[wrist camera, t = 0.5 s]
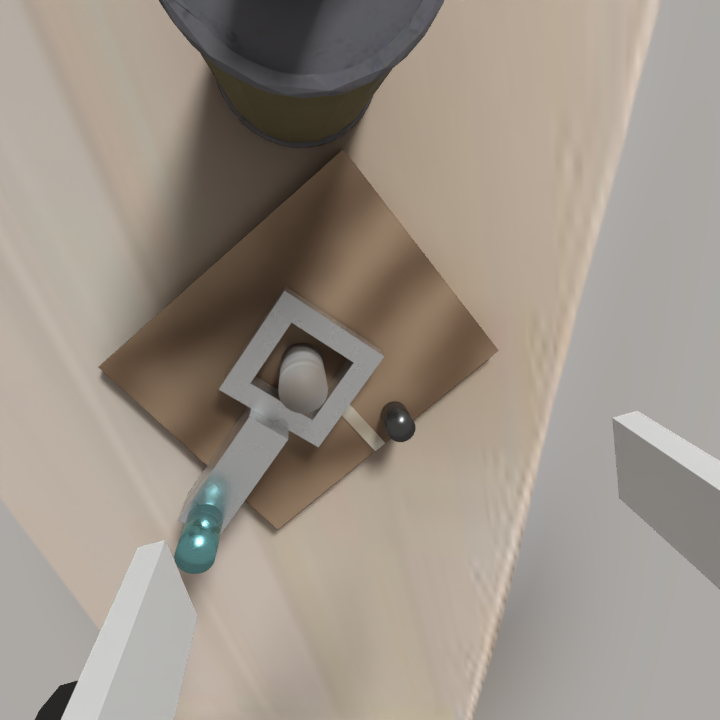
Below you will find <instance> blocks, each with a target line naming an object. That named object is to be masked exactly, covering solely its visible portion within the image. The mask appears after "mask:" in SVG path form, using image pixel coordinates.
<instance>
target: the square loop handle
mask: <svg viewBox="0 0 720 720" xmlns="http://www.w3.org/2000/svg"><path fill="white" fill-rule="evenodd" d="M291 323H293V324H295V325H296V326H298V327H299V328H301V329H302V330H304V331H305V332H307V333H309V334H310V335H312V336H313V337H315V338H316V339H318V340H319V341H321V342H323V343H324V344H326V345H327V346H329V347H330V348H332V349H333V350H335V351H337V352H338V353H340V354H341V355H343V356H344V357H346V358H347V360H346V362H345V363H344V365H343V366H342V368H341V369H340V370H339V372H338V373H337V375H336V376H335V377H334V379H333V380H332V382H331V383H330V384H329V386H328V394H327V398H326V400H325V402H324V403H323V405H322V406H321V407H320V408H318V409H317V410H315V411H313V412H310V413H305V414H301V413H295V412H293V411H291V410H289V409H287V408H286V407H285V406H284V405H283V403H282V402H281V400H280V397H279V393H278V389H277V388H275V387H273V386H272V385H270V384H268V383H267V382H265V381H263V380H262V379H260V378H258V377H257V376H256V374H257V373H258V371H259V370H260V368H261V367H262V365H263V364H264V362H265V361H266V359H267V358H268V356H269V355H270V354H271V352H272V351H273V349H274V348H275V346H276V345H277V343H278V342H279V340H280V339H281V337H282V336H283V334H284V333H285V331H286V330H287V328H288V327H289V326H290V324H291ZM383 358H384V355H383V353H382V352H381V350H380V349H379V348H378V347H376V346H375V345H373V344H372V343H370V342H369V341H367V340H366V339H364V338H363V337H361V336H360V335H358V334H357V333H355V332H354V331H352V330H351V329H349V328H348V327H346V326H345V325H343V324H342V323H340V322H339V321H337V320H336V319H334V318H333V317H331V316H330V315H328V314H327V313H325V312H324V311H322V310H321V309H319V308H318V307H316V306H315V305H313V304H312V303H310V302H309V301H307V300H306V299H304V298H303V297H301V296H300V295H298V294H297V293H295V292H294V291H292V290H290V289H289V288H287V287H286V286H285V287H284V289H283V290H282V292H281V293H280V295H279V296H278V298H277V299H276V301H275V302H274V304H273V305H272V307H271V308H270V310H269V311H268V313H267V314H266V316H265V317H264V319H263V320H262V322H261V323H260V325H259V326H258V328H257V329H256V331H255V332H254V334H253V335H252V337H251V338H250V340H249V341H248V343H247V344H246V346H245V347H244V349H243V350H242V352H241V353H240V355H239V356H238V358H237V359H236V361H235V362H234V364H233V365H232V367H231V368H230V370H229V371H228V373H227V374H226V376H225V377H224V379H223V380H222V383H221V385H220V388H219V390H220V391H222V392H224V393H225V394H227V395H229V396H231V397H232V398H234V399H236V400H237V401H239V402H241V403H243V404H244V405H246V406H247V408H246V409H245V411H244V412H243V414H242V415H241V417H240V418H239V420H238V421H237V423H236V424H235V425H234V427H233V428H232V430H231V431H230V433H229V434H228V436H227V437H226V439H225V440H224V442H223V443H222V444H221V446H220V447H219V449H218V450H217V452H216V453H215V455H214V456H213V458H212V459H211V461H210V462H209V464H208V465H207V466H206V468H205V469H204V471H203V472H202V474H201V475H200V477H199V478H198V480H197V481H196V483H195V484H194V485H193V487H192V488H191V490H190V491H189V493H188V495H187V498H186V501H185V503H184V506H183V509H182V511H181V514H180V517H179V520H178V521H180V522H182V523H184V524H185V525H184V528H183V531H182V534H181V537H180V540H179V543H178V546H177V549H176V552H175V557H174V558H175V562H176V564H177V566H178V567H179V568H180V569H181V570H183V571H185V572H187V573H192V574H198V573H202V572H205V571H207V570H208V569H209V568H210V567H211V566H212V565H213V563H214V560H215V556H216V552H217V547H218V543H219V538H220V535H221V533H222V532H223V531H224V529H225V528H226V526H227V525H228V524H229V522H230V521H231V519H232V518H233V517H234V515H235V514H236V512H237V511H238V510H239V508H240V507H241V505H242V504H243V502H244V501H245V500H246V498H247V497H248V495H249V494H250V493H251V491H252V490H253V488H254V487H255V486H256V484H257V483H258V481H259V480H260V479H261V477H262V476H263V474H264V473H265V471H266V470H267V469H268V467H269V466H270V464H271V463H272V462H273V460H274V459H275V457H276V456H277V455H278V453H279V452H280V450H281V449H282V448H283V446H284V445H285V443H286V442H287V441H288V431H291V432H293V433H294V434H296V435H298V436H300V437H301V438H303V439H305V440H307V441H308V442H310V443H312V444H313V445H315V446H317V447H319V446H320V445H321V443H322V442H323V440H324V439H325V438H326V436H327V435H328V434H329V432H330V431H331V429H332V428H333V427H334V425H335V424H336V423H337V421H338V420H339V418H340V417H341V416H342V414H343V413H344V411H345V410H346V409H347V407H348V406H349V405H350V403H351V402H352V400H353V399H354V398H355V396H356V395H357V394H358V392H359V391H360V389H361V388H362V387H363V385H364V384H365V383H366V381H367V380H368V378H369V377H370V376H371V374H372V373H373V372H374V370H375V369H376V367H377V366H378V365H379V363H380V362H381V360H382V359H383Z"/></svg>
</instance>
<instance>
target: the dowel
mask: <svg viewBox="0 0 720 720" xmlns="http://www.w3.org/2000/svg"><path fill="white" fill-rule="evenodd" d="M381 418H382V420H383V423H384V425H385V428H386V430H387V433H388V435H389V437H390V438H391V439H392V440H394V441H397V442H404V441H407V440H409V439H410V438H411V437H412V436H413V434H414V432H415V424H414V422H413V420H412V418H411V416H410V414H409V412H408V411H407V409H406V407H405V406H404V404H402V403H401V402H397V401H392V402H389V403H387V404H386V405H385V406H384V407H383V409H382V411H381Z"/></svg>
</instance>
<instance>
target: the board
mask: <svg viewBox="0 0 720 720" xmlns="http://www.w3.org/2000/svg"><path fill="white" fill-rule="evenodd" d="M285 286H286V287H287V288H289V289H290V290H292V291H294V292H295V293H297V294H298V295H300V296H301V297H303V298H304V299H306V300H307V301H309V302H310V303H312V304H313V305H315V306H316V307H318V308H319V309H321V310H322V311H324V312H325V313H327V314H328V315H330V316H331V317H333V318H334V319H336V320H337V321H339V322H340V323H342V324H343V325H345V326H346V327H348V328H349V329H351V330H352V331H354V332H355V333H357V334H358V335H360V336H361V337H363V338H364V339H366V340H367V341H369V342H370V343H372V344H373V345H375V346H376V347H378V348H379V349H380V350H381V352H382V353H383V355H384V358H383V359H382V360H381V362H380V363H379V365H378V366H377V367H376V369H375V370H374V372H373V373H372V374H371V376H370V377H369V378H368V380H367V381H366V383H365V384H364V385H363V387H362V388H361V389H360V391H359V392H358V394H357V395H356V396H355V398H354V399H353V400H352V402H351V403H350V405H349V406H348V407H347V409H346V410H345V411H344V413H343V414H342V416H341V417H340V418H339V420H338V421H337V423H336V424H335V425H334V427H333V428H332V429H331V431H330V432H329V434H328V435H327V436H326V438H325V439H324V440H323V442H322V443H321V445H320V446H319V447H317V446H315V445H313V444H312V443H310V442H308V441H307V440H305V439H303V438H301V437H300V436H298V435H296V434H294V433H293V432H291V431H288V441H287V442H286V443H285V445H284V446H283V448H282V449H281V450H280V452H279V453H278V455H277V456H276V457H275V459H274V460H273V462H272V463H271V464H270V466H269V467H268V469H267V470H266V471H265V473H264V474H263V476H262V477H261V479H260V480H259V481H258V483H257V484H256V486H255V487H254V488H253V490H252V491H251V493H250V494H249V495H248V497H247V498H246V500H245V501H247V502H248V503H249V504H250V505H251V506H252V507H253V508H254V509H255V510H256V511H258V512H259V513H260V514H261V515H262V516H263V517H264V518H265V519H266V520H267V521H269V522H270V523H271V524H272V525H273V526H274V527H275V528H276V529H277V530H278V529H279V528H280V527H282V526H283V525H284V524H285V523H287V522H288V521H289V520H290V519H291V518H293V517H294V516H295V515H296V514H298V513H299V512H300V511H301V510H303V509H304V508H305V507H306V506H308V505H309V504H310V503H311V502H312V501H314V500H315V499H316V498H317V497H319V496H320V495H321V494H322V493H324V492H325V491H326V490H327V489H329V488H330V487H331V486H332V485H333V484H335V483H336V482H337V481H338V480H340V479H341V478H342V477H343V476H345V475H346V474H347V473H348V472H349V471H351V470H352V469H353V468H354V467H356V466H357V465H358V464H359V463H361V462H362V461H363V460H364V459H366V458H367V457H368V456H369V455H370V454H372V453H373V452H374V451H376V450H378V449H379V448H380V447H381V446H383V445H384V444H385V442H387V441H388V440H389V439H390V437H389V435H388V433H387V430H386V428H385V425H384V423H383V420H382V418H381V411H382V409H383V407H384V406H385V405H386V404H387V403H389V402H392V401H397V402H401V403H402V404H404V406H405V407H406V409H407V411H408V412H409V414H410V416H411V418H412V420H414V419H415V418H416V417H417V416H419V415H420V414H421V413H422V412H424V411H425V410H426V409H427V408H428V407H430V406H431V405H432V404H433V403H435V402H436V401H437V400H438V399H440V398H441V397H442V396H443V395H445V394H446V393H447V392H448V391H449V390H451V389H452V388H453V387H454V386H456V385H457V384H458V383H459V382H461V381H462V380H463V379H464V378H466V377H467V376H468V375H469V374H470V373H472V372H473V371H474V370H475V369H477V368H478V367H479V366H480V365H482V364H483V363H484V362H485V361H486V360H488V359H489V358H490V357H491V356H493V355H494V354H495V353H496V352H498V349H497V348H496V347H495V345H494V344H493V343H492V341H491V340H490V339H489V338H488V336H487V335H486V334H485V332H484V331H483V330H482V328H481V327H480V326H479V325H478V323H477V322H476V321H475V319H474V318H473V317H472V315H471V314H470V313H469V312H468V310H467V309H466V308H465V306H464V305H463V304H462V303H461V301H460V300H459V299H458V297H457V296H456V295H455V293H454V292H453V291H452V290H451V288H450V287H449V286H448V284H447V283H446V282H445V280H444V279H443V278H442V277H441V275H440V274H439V273H438V271H437V270H436V269H435V267H434V266H433V265H432V264H431V262H430V261H429V260H428V258H427V257H426V256H425V254H424V253H423V252H422V251H421V249H420V248H419V247H418V245H417V244H416V243H415V242H414V240H413V239H412V238H411V236H410V235H409V234H408V232H407V231H406V230H405V229H404V227H403V226H402V225H401V223H400V222H399V221H398V219H397V218H396V217H395V216H394V214H393V213H392V212H391V210H390V209H389V208H388V206H387V205H386V204H385V203H384V201H383V200H382V199H381V197H380V196H379V195H378V193H377V192H376V191H375V190H374V188H373V187H372V186H371V184H370V183H369V182H368V181H367V179H366V178H365V177H364V175H363V174H362V173H361V171H360V170H359V169H358V168H357V166H356V165H355V164H354V162H353V161H352V160H351V158H350V157H349V156H348V155H347V153H346V152H345V151H344V149H343V150H342V151H341V152H340V153H338V154H337V155H336V156H335V157H334V158H333V159H332V160H331V161H329V162H328V163H327V164H326V165H325V166H324V167H323V168H322V169H320V170H319V171H318V172H317V173H316V174H315V175H314V176H313V177H311V178H310V179H309V180H308V181H307V182H306V183H305V184H304V185H302V186H301V187H300V188H299V189H298V190H297V191H296V192H295V193H293V194H292V195H291V196H290V197H289V198H288V199H287V200H286V201H284V202H283V203H282V204H281V205H280V206H279V207H278V208H277V209H275V210H274V211H273V212H272V213H271V214H270V215H269V216H268V217H266V218H265V219H264V220H263V221H262V222H261V223H260V224H259V225H257V226H256V227H255V228H254V229H253V230H252V231H251V232H250V233H248V234H247V235H246V236H245V237H244V238H243V239H242V240H241V241H239V242H238V243H237V244H236V245H235V246H234V247H233V248H232V249H230V250H229V251H228V252H227V253H226V254H225V255H224V256H223V257H221V258H220V259H219V260H218V261H217V262H216V263H215V264H214V265H212V266H211V267H210V268H209V269H208V270H207V271H206V272H205V273H203V274H202V275H201V276H200V277H199V278H198V279H197V280H196V281H194V282H193V283H192V284H191V285H190V286H189V287H188V288H187V289H185V290H184V291H183V292H182V293H181V294H180V295H179V296H178V297H176V298H175V299H174V300H173V301H172V302H171V303H170V304H169V305H167V306H166V307H165V308H164V309H163V310H162V311H161V312H160V313H158V314H157V315H156V316H155V317H154V318H153V319H152V320H151V321H149V322H148V323H147V324H146V325H145V326H144V327H143V328H142V329H141V330H139V331H138V332H137V333H136V334H135V335H134V336H133V337H132V338H130V339H129V340H128V341H127V342H126V343H125V344H124V345H123V346H121V347H120V348H119V349H118V350H117V351H116V352H115V353H114V354H112V355H111V356H110V357H109V358H108V359H107V360H106V361H105V362H103V363H102V364H101V365H100V366H99V368H100V369H101V370H102V371H103V372H104V373H106V374H107V375H108V376H109V377H110V378H111V379H112V380H113V381H114V382H115V383H117V384H118V385H119V386H120V387H121V388H122V389H123V390H124V391H125V392H126V393H128V394H129V395H130V396H131V397H132V398H133V399H134V400H135V401H136V402H137V403H139V404H140V405H141V406H142V407H143V408H144V409H145V410H146V411H147V412H149V413H150V414H151V415H152V416H153V417H154V418H155V419H156V420H157V421H158V422H160V423H161V424H162V425H163V426H164V427H165V428H166V429H167V430H168V431H169V432H171V433H172V434H173V435H174V436H175V437H176V438H177V439H178V440H179V441H180V442H182V443H183V444H184V445H185V446H186V447H187V448H188V449H189V450H190V451H191V452H193V453H194V454H195V455H196V456H197V457H198V458H199V459H200V460H201V461H202V462H204V463H205V464H206V465H208V464H209V462H210V461H211V459H212V458H213V456H214V455H215V453H216V452H217V450H218V449H219V447H220V446H221V444H222V443H223V442H224V440H225V439H226V437H227V436H228V434H229V433H230V431H231V430H232V428H233V427H234V425H235V424H236V423H237V421H238V420H239V418H240V417H241V415H242V414H243V412H244V411H245V409H246V408H247V406H246V405H244V404H243V403H241V402H239V401H237V400H236V399H234V398H232V397H231V396H229V395H227V394H225V393H224V392H222V391H220V390H219V388H220V385H221V383H222V380H223V379H224V377H225V376H226V374H227V373H228V371H229V370H230V368H231V367H232V365H233V364H234V362H235V361H236V359H237V358H238V356H239V355H240V353H241V352H242V350H243V349H244V347H245V346H246V344H247V343H248V341H249V340H250V338H251V337H252V335H253V334H254V332H255V331H256V329H257V328H258V326H259V325H260V323H261V322H262V320H263V319H264V317H265V316H266V314H267V313H268V311H269V310H270V308H271V307H272V305H273V304H274V302H275V301H276V299H277V298H278V296H279V295H280V293H281V292H282V290H283V289H284V287H285ZM346 360H347V358H346V357H344V356H343V355H341V354H340V353H338V352H337V351H335V350H333V349H332V348H330V347H329V346H327V345H326V344H324V343H323V342H321V341H319V340H318V339H316V338H315V337H313V336H312V335H310V334H309V333H307V332H305V331H304V330H302V329H301V328H299V327H298V326H296V325H295V324H293V323H291V324H290V326H289V327H288V328H287V330H286V331H285V333H284V334H283V336H282V337H281V339H280V340H279V342H278V343H277V345H276V346H275V348H274V349H273V351H272V352H271V354H270V355H269V356H268V358H267V359H266V361H265V362H264V364H263V365H262V367H261V368H260V370H259V371H258V373H257V374H256V376H257V377H258V378H260V379H262V380H263V381H265V382H267V383H268V384H270V385H272V386H273V387H275V388H277V389H278V393H279V397H280V400H281V402H282V403H283V405H284V406H285V407H286V408H287V409H289V410H291V411H293V412H295V413H301V414H305V413H310V412H313V411H315V410H317V409H318V408H320V407H321V406H322V405H323V403H324V402H325V400H326V398H327V394H328V386H329V384H330V383H331V382H332V380H333V379H334V377H335V376H336V375H337V373H338V372H339V370H340V369H341V368H342V366H343V365H344V363H345V362H346Z"/></svg>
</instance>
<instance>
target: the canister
mask: <svg viewBox="0 0 720 720" xmlns="http://www.w3.org/2000/svg"><path fill="white" fill-rule="evenodd" d="M159 1H160V3H161V5H162V6H163V8H164V9H165V11H166V12H167V14H168V15H169V17H170V18H171V20H172V21H173V22H174V24H175V25H176V26H177V28H178V29H179V30H180V31H181V32H182V34H183V35H184V36H185V37H186V38H187V40H188V41H189V42H190V43H191V44H192V46H194V47H195V48H196V49H197V50H198V51H199V52H200V53H201V55H202V56H203V58H204V60H205V61H206V63H207V64H208V66H209V67H210V69H211V71H212V72H213V74H214V75H215V77H216V80H217V83H218V85H219V88H220V91H221V93H222V95H223V97H224V98H225V100H226V102H227V103H228V105H229V107H230V108H231V110H232V111H233V112H234V114H235V115H236V116H237V117H238V118H239V119H240V120H241V121H242V122H243V123H244V124H245V125H246V126H247V127H248V128H249V129H251V130H252V131H253V132H255V133H256V134H258V135H259V136H261V137H263V138H265V139H267V140H270V141H272V142H274V143H277V144H281V145H285V146H289V147H312V146H317V145H322V144H325V143H327V142H330V141H332V140H334V139H336V138H338V137H339V136H341V135H343V134H344V133H345V132H347V131H348V130H349V129H350V128H352V127H353V126H354V124H355V123H356V122H357V121H358V120H359V119H360V118H361V117H362V115H363V114H364V112H365V110H366V109H367V107H368V105H369V103H370V102H371V99H372V97H373V94H374V93H375V92H376V90H377V89H378V88H379V86H380V85H381V83H382V82H383V81H384V79H385V78H386V77H387V75H388V74H389V73H390V71H391V70H392V68H393V67H395V66H396V65H397V64H398V63H400V62H401V61H402V60H403V59H404V58H406V57H407V56H408V54H409V53H410V52H411V51H412V50H413V49H414V47H415V46H416V45H417V44H418V43H419V42H420V40H421V39H422V38H423V37H424V36H425V34H426V32H427V31H428V29H429V27H430V26H431V24H432V22H433V20H434V19H435V17H436V15H437V13H438V11H439V10H440V8H441V6H442V4H443V2H444V0H159Z"/></svg>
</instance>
